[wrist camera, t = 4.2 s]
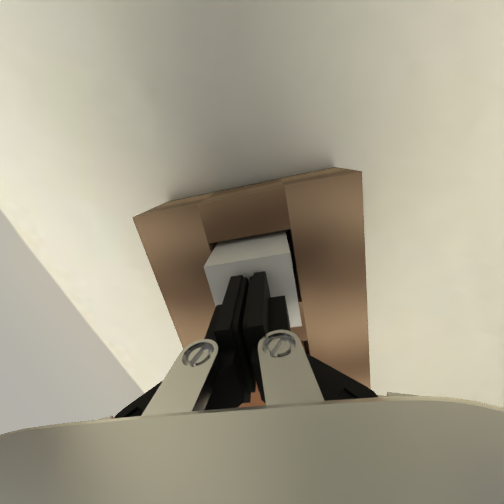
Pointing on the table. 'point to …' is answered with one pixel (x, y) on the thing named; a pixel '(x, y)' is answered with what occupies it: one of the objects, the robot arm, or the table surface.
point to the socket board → (302, 247)
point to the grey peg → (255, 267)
